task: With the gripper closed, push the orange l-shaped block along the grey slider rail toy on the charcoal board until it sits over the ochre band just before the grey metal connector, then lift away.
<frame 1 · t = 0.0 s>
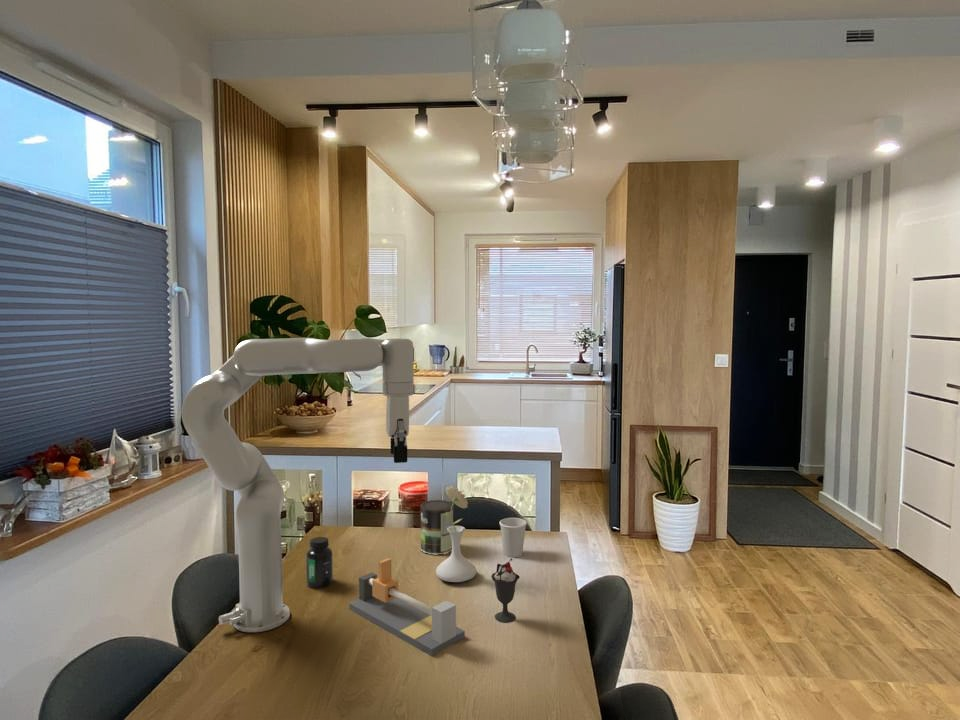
hand: (398, 457, 142), 37 cm above the table, tool pointing down, fingers open, 9 cm apart
supplement bottle: (319, 583, 157), on the table
flower in vase: (455, 576, 161), on the table
dixie cup: (512, 554, 177), on the table
grey slider rail toy: (404, 622, 136), on the table
orange l-shaped block: (385, 578, 140), point 8 cm above the table, slide at 0.0 cm
coffee can: (437, 549, 181), on the table
sundae: (505, 618, 138), on the table
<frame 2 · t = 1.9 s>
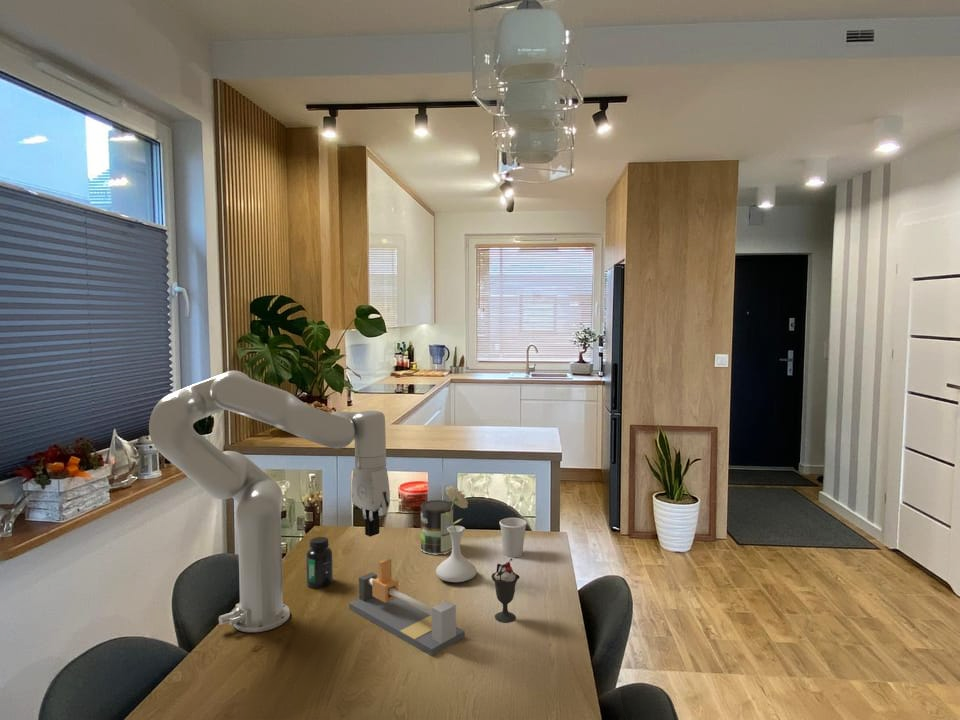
hand: (372, 534, 143), 18 cm above the table, tool pointing down, fingers closed
nothing on the table moved.
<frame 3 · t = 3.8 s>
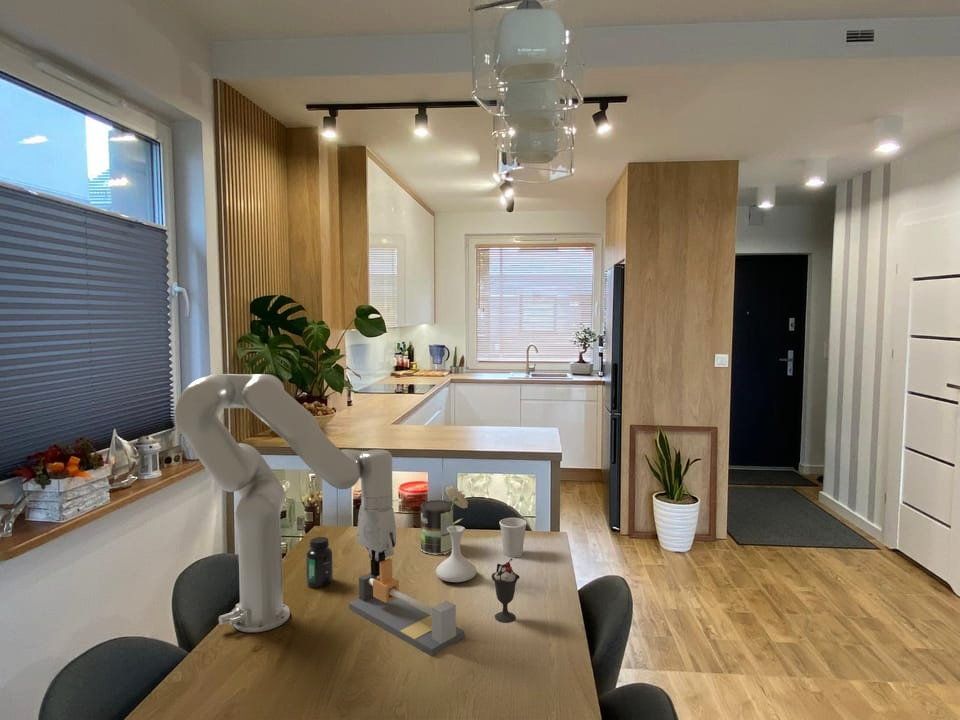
hand: (378, 574, 142), 9 cm above the table, tool pointing down, fingers closed
orange l-shaped block: (385, 578, 140), point 8 cm above the table, slide at 0.3 cm, touching gripper
everything else where it was.
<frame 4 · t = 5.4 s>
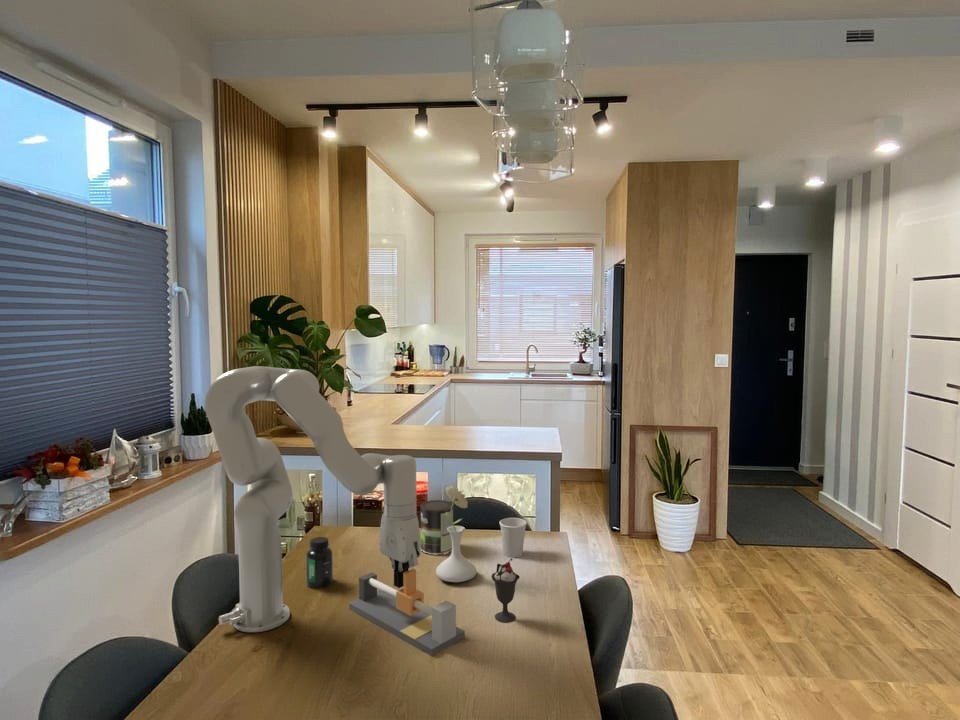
hand: (401, 585, 136), 9 cm above the table, tool pointing down, fingers closed
orange l-shaped block: (409, 590, 134), point 9 cm above the table, slide at 9.1 cm, touching gripper
everything else where it was.
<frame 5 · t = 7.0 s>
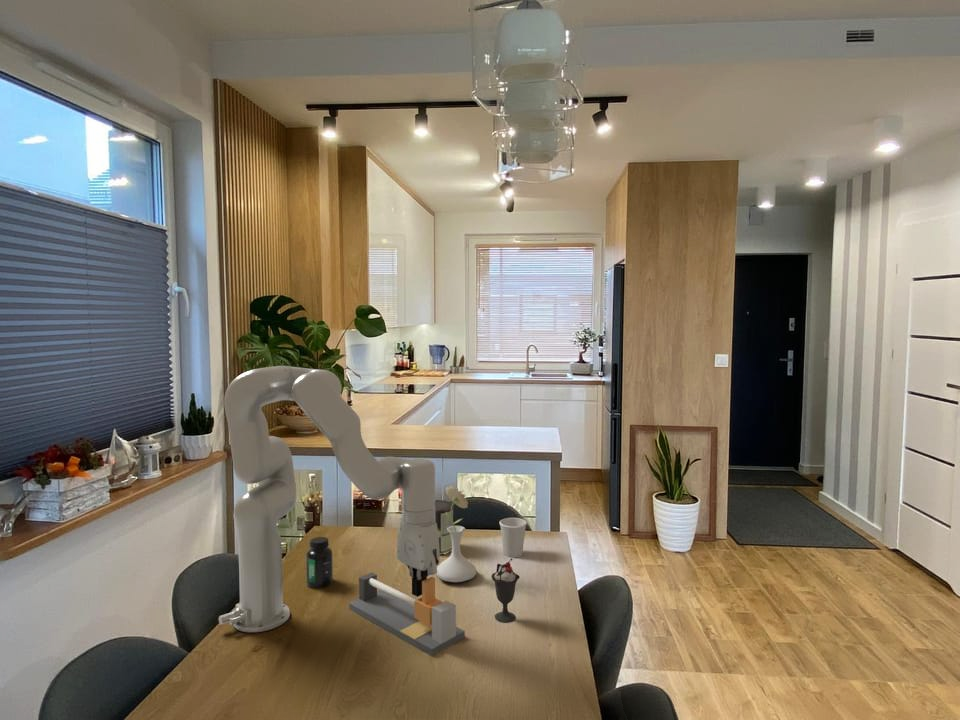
hand: (419, 593, 132), 9 cm above the table, tool pointing down, fingers closed
orange l-shaped block: (428, 599, 130), point 9 cm above the table, slide at 15.6 cm, touching gripper
everything else where it was.
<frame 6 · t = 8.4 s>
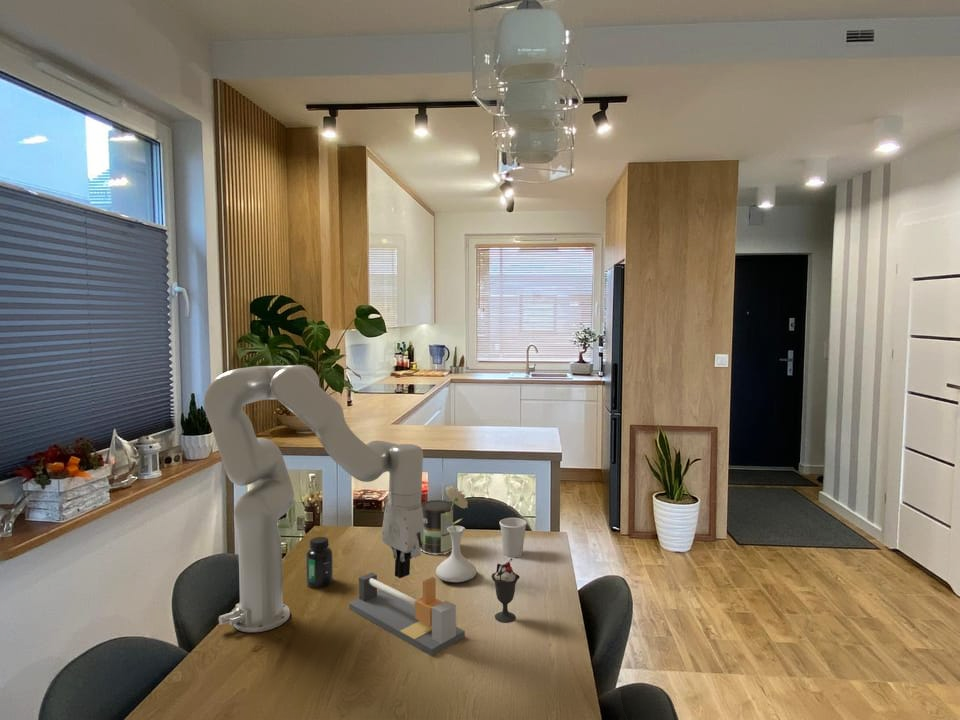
hand: (402, 575, 135), 12 cm above the table, tool pointing down, fingers closed
orange l-shaped block: (429, 599, 129), point 9 cm above the table, slide at 15.7 cm
everything else where it was.
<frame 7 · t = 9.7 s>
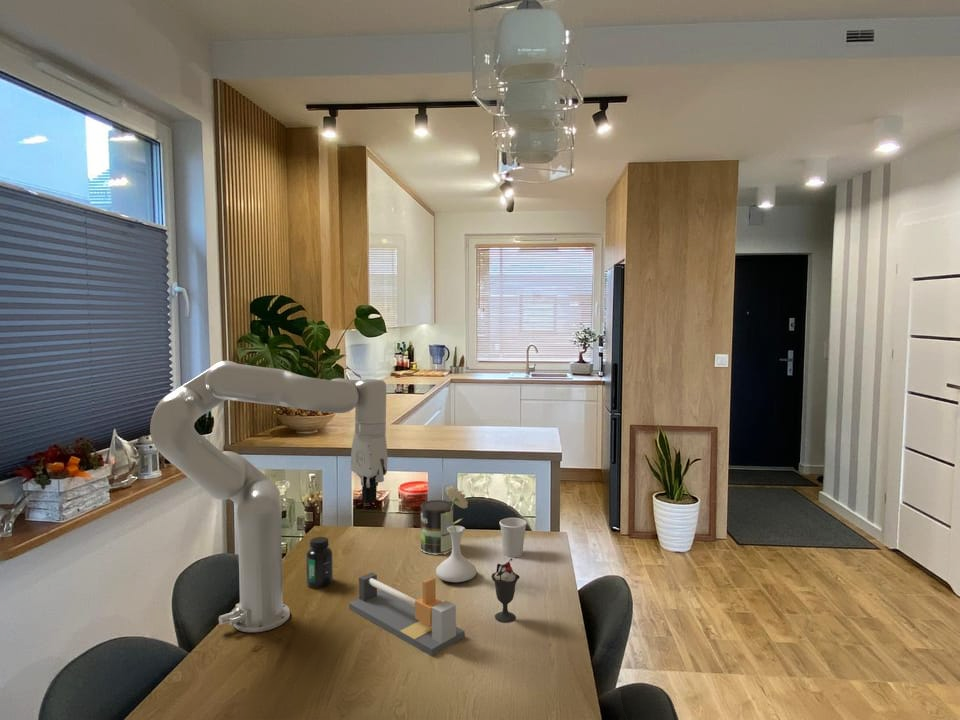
hand: (369, 501, 145), 26 cm above the table, tool pointing down, fingers closed
nothing on the table moved.
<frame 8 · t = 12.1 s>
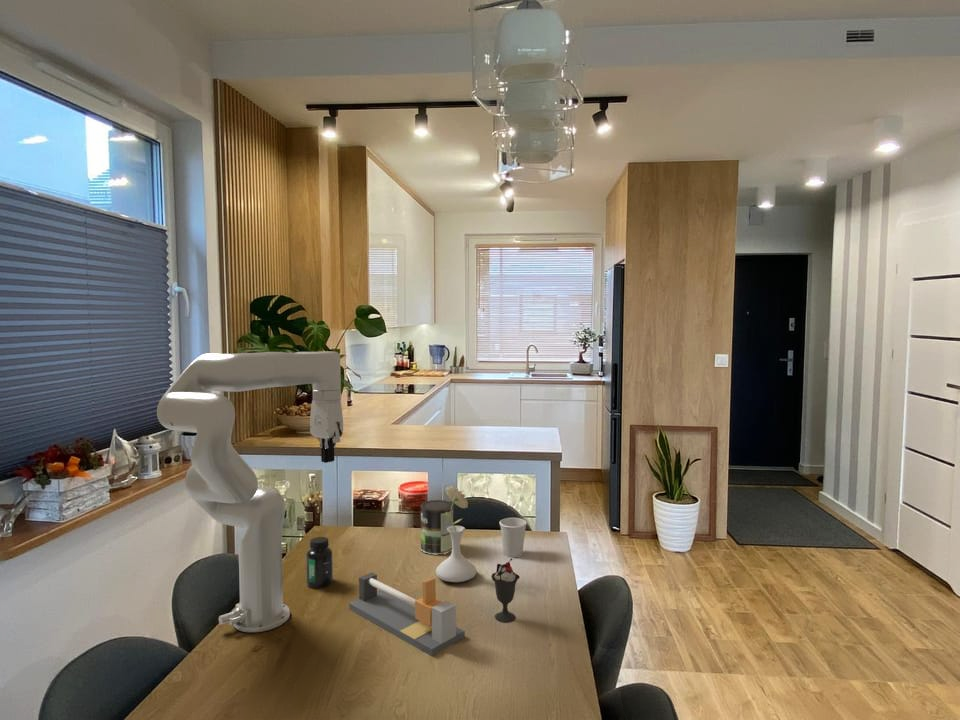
hand: (327, 461, 160), 32 cm above the table, tool pointing down, fingers closed
nothing on the table moved.
at the end: orange l-shaped block slide at 15.7 cm; sundae moved 0.2 cm from its start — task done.
